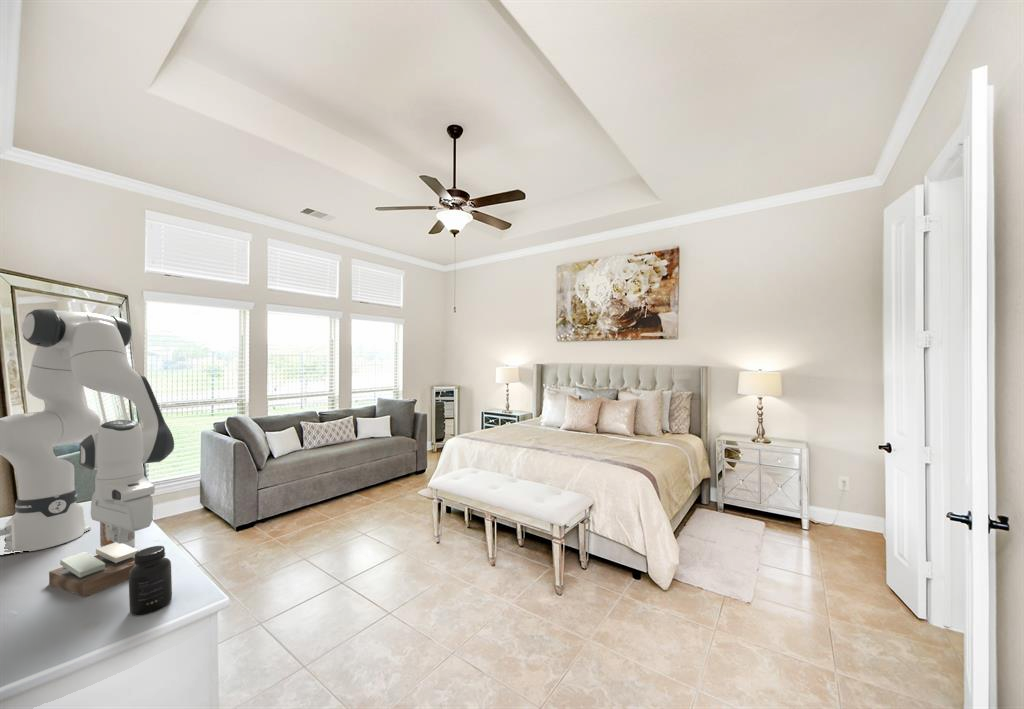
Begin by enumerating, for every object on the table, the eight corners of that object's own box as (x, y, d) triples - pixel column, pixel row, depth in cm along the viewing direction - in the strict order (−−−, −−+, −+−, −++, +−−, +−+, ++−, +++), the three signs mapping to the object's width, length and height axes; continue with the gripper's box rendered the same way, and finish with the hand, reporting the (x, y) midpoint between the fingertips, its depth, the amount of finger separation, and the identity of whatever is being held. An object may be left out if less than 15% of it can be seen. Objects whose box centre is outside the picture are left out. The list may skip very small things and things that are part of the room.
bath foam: (97, 558, 110) (95, 484, 110) (104, 548, 115) (103, 478, 116) (131, 551, 114) (130, 479, 114) (137, 542, 119) (136, 473, 120)
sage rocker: (60, 564, 96) (60, 559, 96) (85, 555, 100) (85, 551, 100) (79, 577, 93) (80, 572, 93) (104, 568, 97) (105, 563, 97)
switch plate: (49, 584, 97) (49, 567, 97) (113, 560, 108) (113, 545, 108) (84, 597, 91) (84, 579, 91) (149, 570, 102) (149, 554, 102)
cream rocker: (95, 553, 102) (95, 548, 102) (118, 545, 106) (118, 541, 106) (115, 563, 99) (115, 558, 99) (138, 554, 103) (138, 550, 103)
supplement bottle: (128, 607, 87) (127, 550, 87) (170, 593, 92) (169, 540, 92) (129, 621, 82) (128, 561, 82) (173, 606, 87) (172, 549, 87)
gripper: (81, 485, 102) (81, 540, 102) (126, 495, 95) (126, 555, 94) (114, 478, 108) (113, 530, 108) (159, 487, 100) (158, 543, 100)
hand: (120, 542), depth 101 cm, fingers closed
